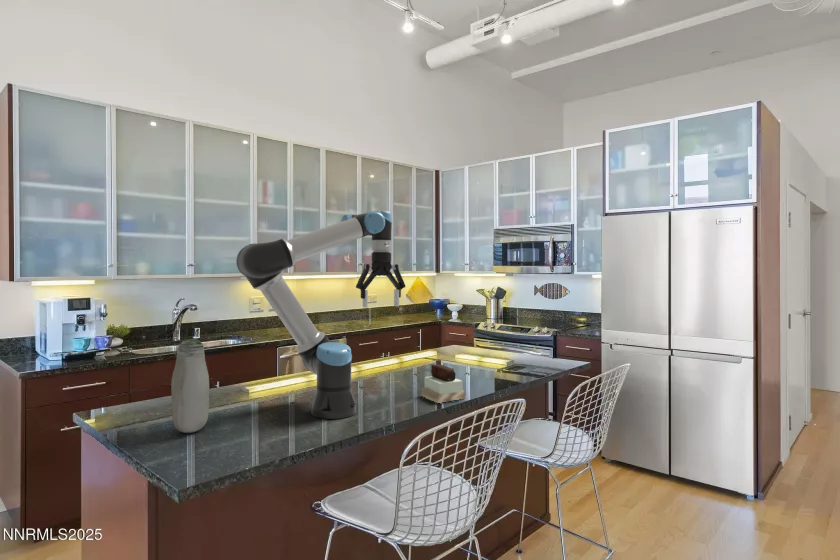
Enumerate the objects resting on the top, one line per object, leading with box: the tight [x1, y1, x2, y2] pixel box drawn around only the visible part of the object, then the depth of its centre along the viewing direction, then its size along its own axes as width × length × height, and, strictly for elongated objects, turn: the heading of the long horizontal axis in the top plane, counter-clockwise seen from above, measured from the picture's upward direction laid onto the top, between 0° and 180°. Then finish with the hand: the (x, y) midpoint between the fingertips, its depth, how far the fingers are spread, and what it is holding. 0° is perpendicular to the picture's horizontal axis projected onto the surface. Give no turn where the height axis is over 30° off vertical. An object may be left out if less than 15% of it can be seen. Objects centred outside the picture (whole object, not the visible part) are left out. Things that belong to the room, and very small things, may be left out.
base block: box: [421, 386, 466, 404], centre depth 200 cm, size 12×12×4 cm
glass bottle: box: [170, 338, 210, 434], centre depth 157 cm, size 10×10×28 cm
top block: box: [424, 375, 464, 394], centre depth 200 cm, size 10×12×4 cm
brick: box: [430, 363, 456, 381], centre depth 200 cm, size 11×4×5 cm, turn 35°
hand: (381, 306), depth 200 cm, fingers open, 13 cm apart
